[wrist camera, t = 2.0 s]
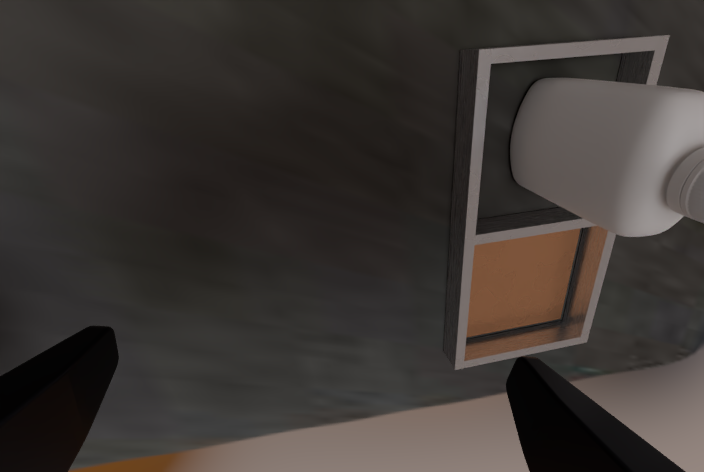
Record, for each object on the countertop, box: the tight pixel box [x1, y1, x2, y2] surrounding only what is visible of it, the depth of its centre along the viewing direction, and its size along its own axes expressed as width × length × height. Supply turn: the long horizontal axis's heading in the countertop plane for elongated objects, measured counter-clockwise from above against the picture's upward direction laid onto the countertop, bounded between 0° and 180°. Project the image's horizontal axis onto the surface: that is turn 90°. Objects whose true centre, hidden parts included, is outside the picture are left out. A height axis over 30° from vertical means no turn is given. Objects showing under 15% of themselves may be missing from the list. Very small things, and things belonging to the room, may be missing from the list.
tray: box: [443, 35, 670, 370], centre depth 22 cm, size 19×10×2 cm, turn 4°
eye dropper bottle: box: [510, 78, 704, 237], centre depth 16 cm, size 4×6×12 cm
